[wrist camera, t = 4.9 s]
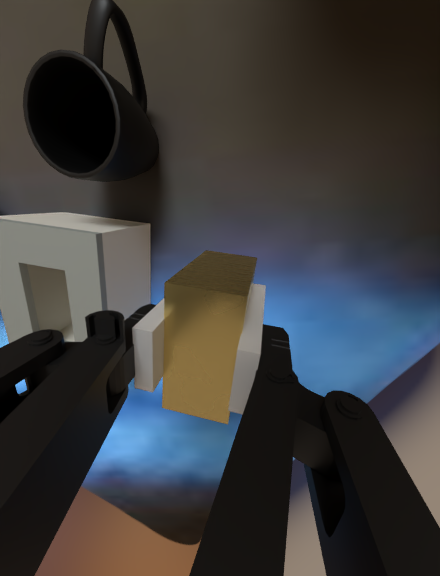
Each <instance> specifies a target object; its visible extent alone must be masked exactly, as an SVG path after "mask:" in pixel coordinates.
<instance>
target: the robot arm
mask: <svg viewBox="0 0 440 576" xmlns="http://www.w3.org/2000/svg"><path fill="white" fill-rule="evenodd" d="M265 287H266V286H265V285H259V284H253V285H252V290H251V294H250V299H249V304H248V308H247V313H246V317H245V322H244V327H243V331H242V334H241V336H240V340H239V345H238V349H237V355H236V362H235V368H234V375H233V382H232V388H231V395H230V402H229V408H228V411H231V412H235V413H239V414H243V415H242V418H241V421H240V424H239V427H238V430H237V433H236V436H235V439H234V442H233V445H232V448H231V451H230V454H229V457H228V460H227V463H226V466H225V469H224V472H223V475H222V478H221V481H220V485H219V488H218V491H217V494H216V497H215V500H214V503H213V506H212V509H211V512H210V515H209V518H208V521H207V524H206V527H205V530H204V533H203V536H202V539H201V542H200V545H199V548H198V551H197V554H196V557H195V560H194V563H193V566H192V569H191V573H190V575H189V576H283V575H284V562H285V549H286V536H287V524H288V512H289V499H290V486H291V474H292V462H293V457H294V458H296V459H297V460H299V461H301V462H302V463H304V467H305V472H306V477H307V482H308V487H309V492H310V496H311V502H312V507H313V511H314V516H315V521H316V526H317V531H318V535H319V541H320V546H321V550H322V556H323V561H324V565H325V570H326V575H327V576H440V528H439V526H438V524H437V523H436V521H435V519H434V517H433V516H432V514H431V512H430V510H429V508H428V507H427V505H426V503H425V502H424V500H423V498H422V496H421V494H420V493H419V491H418V489H417V487H416V486H415V484H414V482H413V481H412V479H411V477H410V475H409V474H408V472H407V470H406V468H405V467H404V465H403V463H402V462H401V460H400V458H399V456H398V454H397V453H396V451H395V449H394V447H393V446H392V444H391V442H390V440H389V439H388V437H387V435H386V433H385V432H384V430H383V428H382V426H381V425H380V423H379V421H378V419H377V418H376V416H375V414H374V412H373V411H372V410H371V409H370V407H369V406H368V405H367V404H366V403H365V402H363V401H362V400H361V399H360V398H358V397H356V396H354V395H352V394H350V393H347V392H344V391H331V392H329V393H327V395H326V396H325V397H323V396H320V395H318V394H316V393H314V392H312V391H310V390H308V389H306V388H305V387H304V386H302V385H301V384H300V383H299V382H298V377H297V376H296V374H295V373H294V372H293V370H292V362H291V353H290V345H289V336H288V334H287V332H286V331H285V330H284V329H283V328H280V327H275V326H269V325H264V324H263V314H264V301H265ZM85 321H86V329H87V338H86V339H85V340H84V341H83V342H64V336H63V334H62V332H60V331H58V330H52V329H47V330H46V329H45V330H40V331H36V332H33V333H30V334H28V335H25V336H23V337H21V338H19V339H17V340H15V341H13V342H11V343H9V344H7V345H5V346H3V347H1V348H0V576H34V575H35V573H36V571H37V570H38V568H39V566H40V564H41V562H42V560H43V558H44V556H45V554H46V552H47V550H48V548H49V546H50V544H51V543H52V541H53V539H54V537H55V535H56V533H57V531H58V529H59V527H60V525H61V523H62V521H63V520H64V518H65V516H66V514H67V511H68V510H69V508H70V506H71V504H72V502H73V500H74V498H75V496H76V494H77V493H78V491H79V488H80V487H81V485H82V483H83V481H84V479H85V477H86V475H87V473H88V471H89V469H90V467H91V466H92V464H93V462H94V460H95V458H96V456H97V454H98V452H99V450H100V448H101V446H102V444H103V442H104V440H105V439H106V437H107V435H108V433H109V431H110V429H111V427H112V425H113V423H114V421H115V419H116V417H117V415H118V413H119V412H120V410H121V408H122V406H123V404H124V402H125V400H126V398H127V395H128V384H129V383H130V382H131V380H132V379H133V378H134V382H135V388H137V389H141V390H145V391H149V392H153V391H154V390H155V388H156V386H157V385H158V383H159V381H160V380H161V378H162V376H163V363H164V299H163V300H162V301H160V302H159V303H158V304H157V305H153V304H147V305H145V306H142V307H140V308H139V309H138V310H136V311H135V312H134V314H132V315H130V316H129V318H127V319H126V320H124V316H123V314H122V313H120V312H117V311H113V310H104V311H97V312H94V313H91V314H89V315H87V316H86V317H85ZM23 379H25V382H26V386H27V390H26V391H25V392H23V393H21V394H18V393H17V390H16V387H15V385H16V384H17V383H19V382H20V381H22V380H23Z"/></svg>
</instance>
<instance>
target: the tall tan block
mask: <svg viewBox="0 0 440 576" xmlns="http://www.w3.org/2000/svg"><path fill="white" fill-rule="evenodd" d="M256 262H257V258H255V257H248V256H242V255H235V254H228V253H221V252H214V251H207V250H206V251H205V252H203V253H202V254H201V255H200V256H198V257H197V258H196V259H194V260H193V261H192V262H191V263H189V264H188V265H187V266H185V267H184V268H183V269H182V270H180V271H179V272H178V273H176V274H175V275H174V276H173V277H171V278H170V279H169V280H167V281H166V282H165V288H164V363H163V397H162V408H165V409H169V410H173V411H177V412H181V413H185V414H189V415H193V416H197V417H201V418H205V419H209V420H213V421H217V422H221V423H225V424H228V421H229V416H230V411H228V408H229V402H230V395H231V388H232V382H233V375H234V368H235V362H236V355H237V349H238V345H239V340H240V336H241V334H242V331H243V327H244V322H245V317H246V313H247V308H248V304H249V299H250V294H251V290H252V285H253V280H254V274H255V268H256Z"/></svg>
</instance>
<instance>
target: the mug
mask: <svg viewBox="0 0 440 576" xmlns="http://www.w3.org/2000/svg"><path fill="white" fill-rule="evenodd" d="M109 18H111V20H112V22H113V24H114V27H115V29H116V32H117V35H118V37H119V40H120V43H121V47H122V50H123V53H124V56H125V60H126V63H127V67H128V71H129V75H130V79H131V84H132V93H133V97H132V95H131V94H130V93H129V92H128V91H127V90H126V89H125V87H124V86H123V85H122V84H121V83H119V82H118V81H117V80H116V79H114V78H113V77H112V76H111V75H109V74H108V73H107V72H106V71H104V70H103V49H104V40H105V34H106V29H107V25H108V21H109ZM23 109H24V117H25V122H26V126H27V129H28V133H29V135H30V137H31V139H32V141H33V144H34V146H35V147H36V149H37V150H38V152H39V153H40V155H41V156H42V157H43V158H44V159H45V161H46V162H47V163H48V164H49V165H50V166H52V167H53V168H54V169H56V170H57V171H58V172H60V173H62V174H64V175H66V176H68V177H71V178H76V179H82V180H91V181H101V182H107V181H119V180H124V179H128V178H131V177H133V176H136V175H138V174H140V173H143V172H145V171H147V170H149V169H150V168H151V167H152V166H153V165H154V163H155V161H156V159H157V156H158V151H159V144H158V138H157V135H156V132H155V130H154V128H153V127H152V125H151V123H150V122H149V120H148V118H147V116H146V111H147V95H146V89H145V84H144V79H143V75H142V70H141V66H140V62H139V58H138V54H137V50H136V46H135V42H134V38H133V35H132V31H131V28H130V26H129V23H128V21H127V19H126V17H125V15H124V13H123V12H122V10H121V9H120V8H119V7H118V6H117V5H116V3H115V2H114V1H113V0H92V1H91V4H90V7H89V11H88V16H87V22H86V29H85V39H84V55H82V54H79V53H77V52H75V51H68V50H57V51H53V52H49V53H47V54H46V55H44V56H43V57H41V58H40V59H39V60H38V61H37V62H36V63H35V65H34V66H33V67H32V69H31V71H30V73H29V75H28V77H27V80H26V84H25V88H24V96H23Z"/></svg>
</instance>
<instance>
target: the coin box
mask: <svg viewBox="0 0 440 576" xmlns="http://www.w3.org/2000/svg"><path fill="white" fill-rule="evenodd" d="M147 304H151V259H150V223H142V222H134V221H127V220H119V219H112V218H104V217H96V216H89V215H81V214H74V213H66V212H59V213H41V214H24V215H6V216H0V309H1V313H2V317H3V321H4V325H5V329H6V333H7V337H8V340H9V343H11V342H13V341H15V340H17V339H19V338H21V337H23V336H25V335H28V334H30V333H33V332H36V331H40V330H45V329H46V330H47V329H52V330H58V331H60V332H62V334H63V336H64V342H83V341H84V340H85V339H86V338H87V329H86V321H85V317H86V316H87V315H89V314H91V313H94V312H97V311H104V310H113V311H117V312H120V313H122V314H123V316H124V320H126V319H127V318H129V316H130V315H132V314H134V312H135V311H136V310H138V309H139V308H140V307H142V306H145V305H147Z"/></svg>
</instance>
